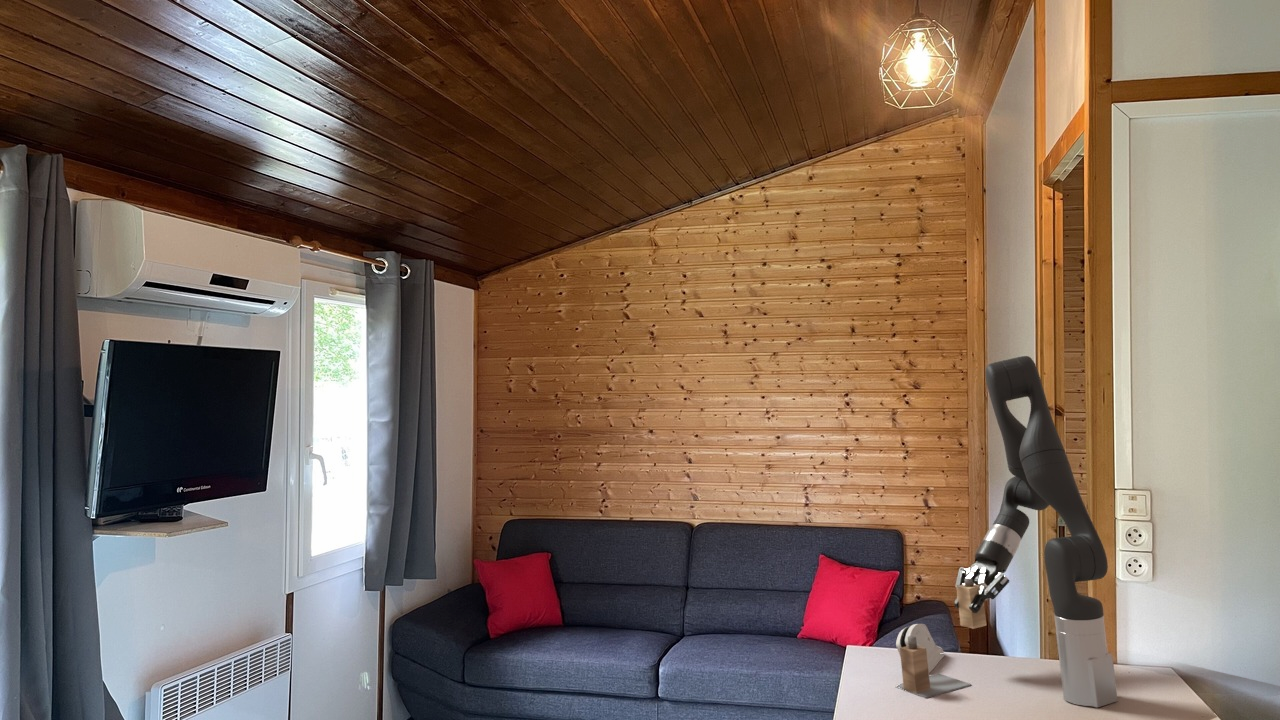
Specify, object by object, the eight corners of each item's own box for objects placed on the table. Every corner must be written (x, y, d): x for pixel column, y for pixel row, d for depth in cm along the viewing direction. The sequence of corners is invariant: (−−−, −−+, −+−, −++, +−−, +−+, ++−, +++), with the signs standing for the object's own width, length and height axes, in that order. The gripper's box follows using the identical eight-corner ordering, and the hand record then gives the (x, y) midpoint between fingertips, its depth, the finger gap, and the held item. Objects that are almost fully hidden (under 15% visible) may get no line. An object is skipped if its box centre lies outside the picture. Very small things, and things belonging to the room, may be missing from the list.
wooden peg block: (986, 625, 208) (981, 578, 208) (973, 628, 206) (968, 581, 206) (973, 622, 211) (968, 576, 212) (960, 625, 209) (955, 579, 210)
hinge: (928, 674, 210) (909, 633, 213) (909, 680, 213) (891, 638, 215) (945, 654, 225) (927, 615, 227) (927, 659, 227) (910, 620, 229)
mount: (971, 685, 201) (965, 632, 201) (926, 698, 195) (920, 643, 196) (938, 674, 210) (933, 623, 210) (894, 686, 204) (889, 634, 205)
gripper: (965, 536, 219) (932, 595, 213) (1012, 541, 206) (978, 604, 200) (984, 554, 221) (952, 614, 215) (1031, 561, 208) (998, 624, 202)
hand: (965, 609), depth 208 cm, fingers closed on wooden peg block, 4 cm apart
